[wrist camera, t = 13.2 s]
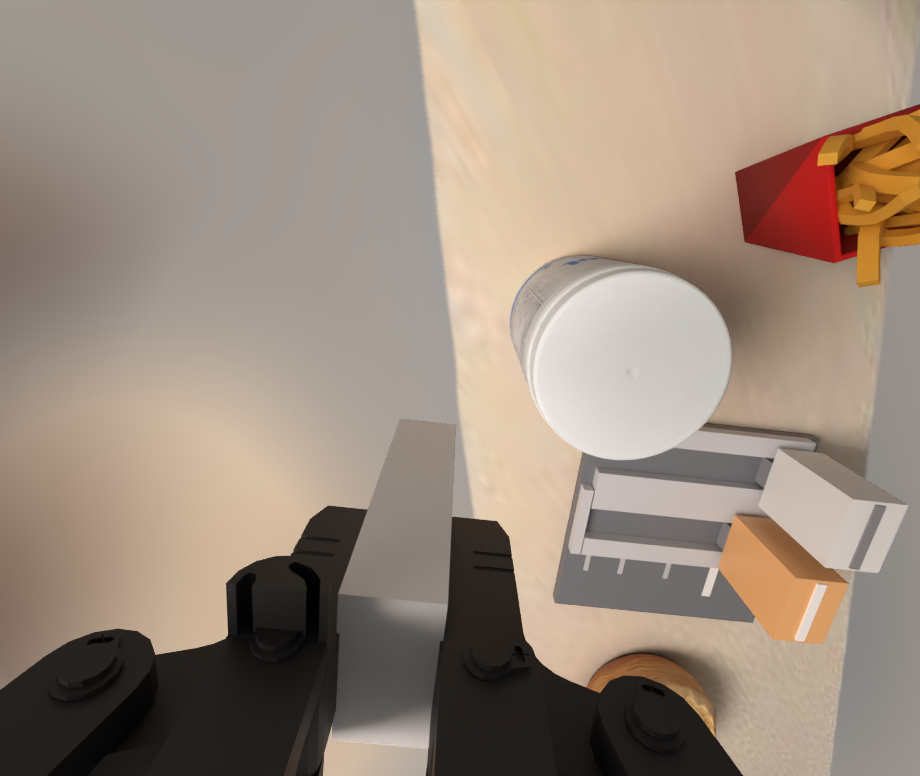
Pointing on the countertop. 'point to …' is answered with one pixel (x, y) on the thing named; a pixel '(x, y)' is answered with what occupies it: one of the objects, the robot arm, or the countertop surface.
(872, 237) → the french fries
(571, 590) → the console board
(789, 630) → the fader knob
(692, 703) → the pastry
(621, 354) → the supplement tub
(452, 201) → the countertop surface
